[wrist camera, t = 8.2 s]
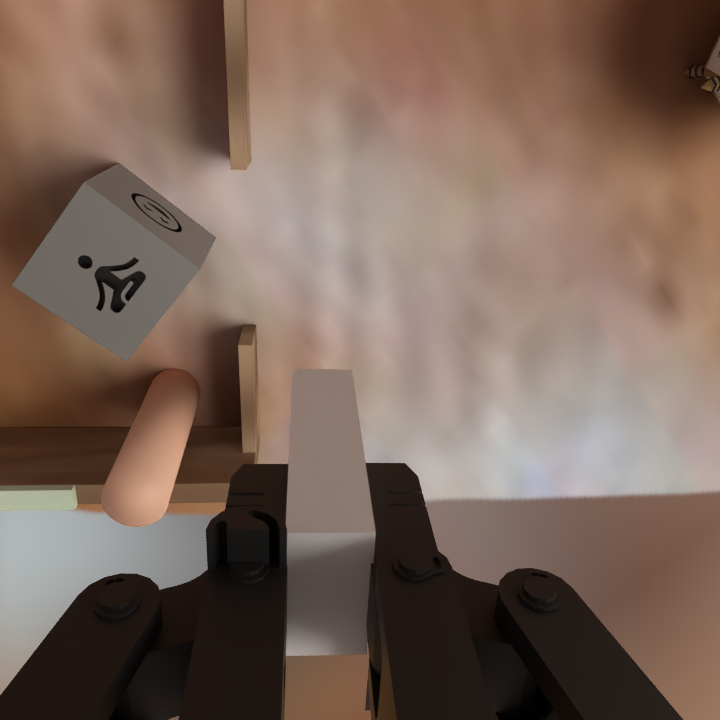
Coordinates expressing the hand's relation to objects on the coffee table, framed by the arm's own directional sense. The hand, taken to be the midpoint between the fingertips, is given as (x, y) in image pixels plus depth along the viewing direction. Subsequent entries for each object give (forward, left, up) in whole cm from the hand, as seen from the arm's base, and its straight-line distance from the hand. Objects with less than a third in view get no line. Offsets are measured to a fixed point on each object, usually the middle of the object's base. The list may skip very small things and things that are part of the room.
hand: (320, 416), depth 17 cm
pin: (+9, -1, -15) cm, 17 cm away
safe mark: (+16, -5, -10) cm, 19 cm away
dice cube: (+5, -7, -15) cm, 17 cm away
